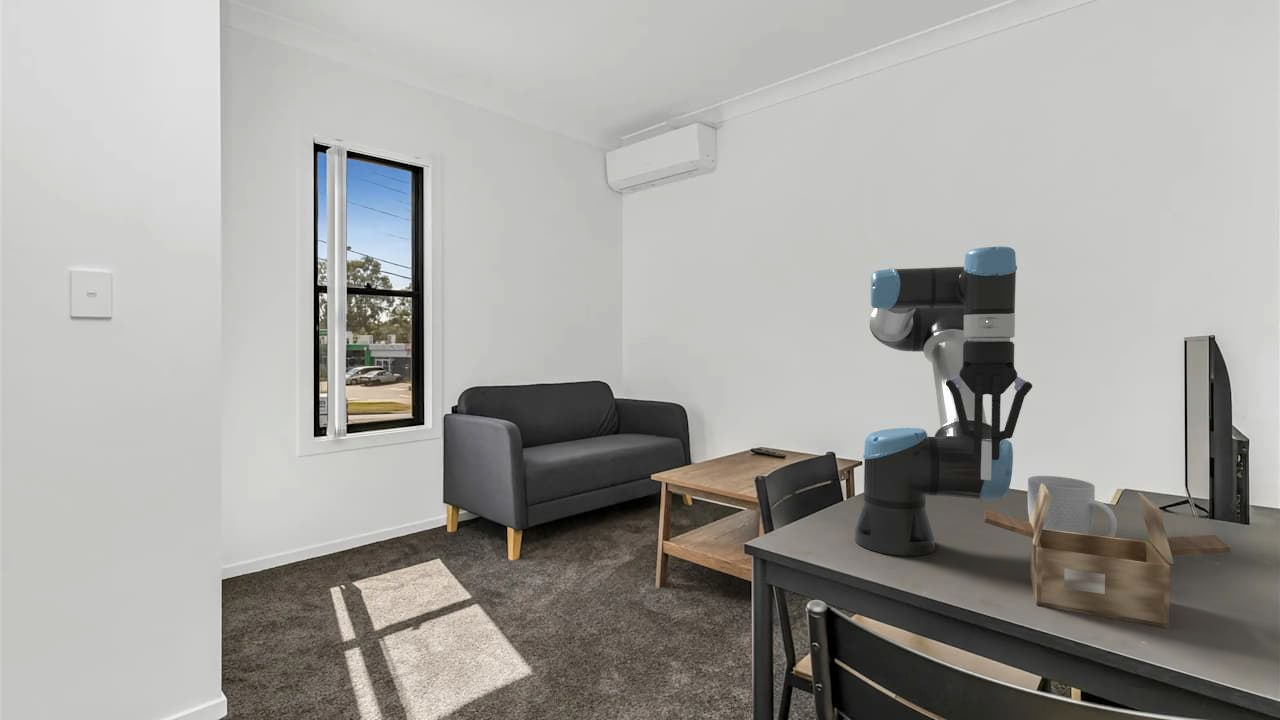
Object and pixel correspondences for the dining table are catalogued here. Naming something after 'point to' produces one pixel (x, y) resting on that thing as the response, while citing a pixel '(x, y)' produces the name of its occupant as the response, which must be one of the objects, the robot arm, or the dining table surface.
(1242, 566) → the dining table surface
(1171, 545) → the right flap
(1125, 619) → the carton
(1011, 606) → the dining table surface
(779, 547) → the dining table surface
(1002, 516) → the left flap
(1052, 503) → the mug
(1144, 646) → the dining table surface
